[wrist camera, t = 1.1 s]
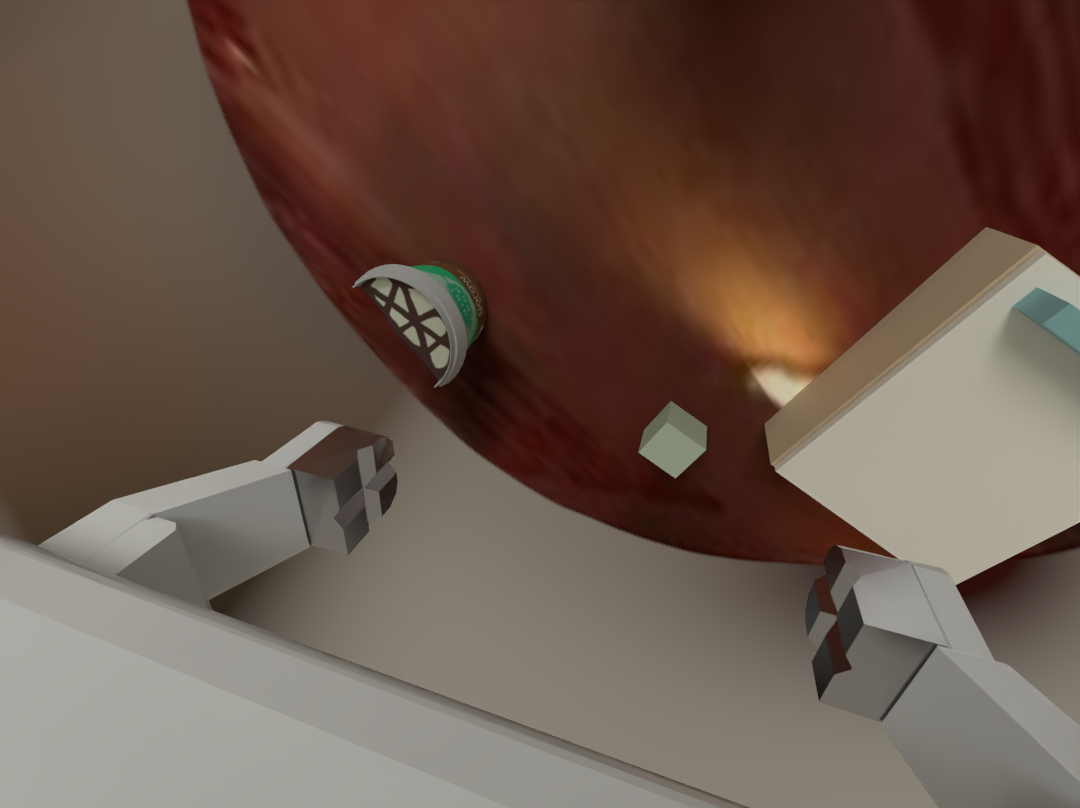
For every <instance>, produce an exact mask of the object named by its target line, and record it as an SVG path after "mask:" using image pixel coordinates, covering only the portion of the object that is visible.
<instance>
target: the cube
mask: <svg viewBox="0 0 1080 808" xmlns="http://www.w3.org/2000/svg"><path fill="white" fill-rule="evenodd" d="M706 440H707V426H705V425H704V424H703V423H701V422H700V421H698V420H697V419H696V418H694V417H693V416H691V415H690V414H689V413H687V412H686V411H684V410H683V409H682V408H680V407H679V406H677V405H676V404H674V403H673V402H672V401H671V402H670V403H669V404H668V405H667V406H666V407H665V408H664V409H663V410H662V411H661V412H660V413H659V414H658V415H657V416H656V418H655V419H654V420H653V421H652V422H651V423H650V424H649V425H648V426H647V427H646V428H645V429H644V432H643V436H642V440H641V444H640V448H639V453H640V454H641V455H643V456H644V457H646V458H647V459H648V460H650V461H651V462H653V463H654V464H656V465H657V466H658V467H660V468H661V469H663V470H664V471H665V472H667V473H668V474H670V475H671V476H673V477H674V478H677V477H678V476H679V475H680V474H681V473H682V472H683V471H684V470H685V469H686V468H687V467H688V466H689V465H691V464H692V463H693V462H694V461H695V460H696V459H697V458H698V457H699V456H700V455H701V454H702V453H703V452H705V451H706Z"/></svg>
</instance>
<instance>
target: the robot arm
mask: <svg viewBox="0 0 1080 808" xmlns="http://www.w3.org/2000/svg"><path fill="white" fill-rule="evenodd" d="M393 456H394V449H393V442H392V440H390V439H389V438H388V437H386V436H382V435H379V434H375V433H371V432H367V431H364V430H360V429H356V428H352V427H349V426H343V425H340V424H336V423H332V422H328V421H320V422H316V423H315V424H314V425H312V426H311V427H310V428H308V429H307V430H305V431H304V432H302V433H301V434H300V435H298V436H297V437H295V438H294V439H293V440H291V441H290V442H289V443H287V444H286V445H284V446H283V447H282V448H280V449H279V450H278V451H276V452H275V453H273V454H272V455H270V456H269V457H268V458H266V459H265V460H263V461H262V462H260V461H256V460H254V461H251V462H247V463H243V464H240V465H236V466H232V467H229V468H225V469H222V470H219V471H215V472H211V473H207V474H204V475H200V476H197V477H193V478H190V479H186V480H182V481H179V482H176V483H172V484H168V485H165V486H161V487H158V488H154V489H150V490H147V491H143V492H140V493H136V494H132V495H129V496H125V497H122V498H118V499H115V500H112V501H110V502H109V503H107V504H105V505H104V506H102V507H100V508H99V509H97V510H95V511H94V512H92V513H91V514H89V515H87V516H86V517H84V518H82V519H81V520H79V521H78V522H76V523H74V524H73V525H71V526H69V527H68V528H66V529H64V530H63V531H61V532H59V533H58V534H56V535H55V536H53V537H51V538H50V539H48V540H46V541H45V542H43V543H42V544H40V545H38V546H35V545H32V544H30V543H27V542H24V541H22V540H19V539H16V538H13V537H11V536H8V535H5V534H3V533H0V808H749V807H746V806H743V805H741V804H738V803H735V802H732V801H729V800H727V799H724V798H721V797H719V796H716V795H713V794H711V793H708V792H705V791H702V790H700V789H697V788H694V787H691V786H689V785H686V784H683V783H680V782H677V781H675V780H672V779H669V778H667V777H664V776H661V775H659V774H656V773H653V772H651V771H648V770H645V769H642V768H640V767H637V766H634V765H631V764H629V763H626V762H623V761H620V760H618V759H615V758H612V757H609V756H606V755H604V754H601V753H599V752H596V751H593V750H590V749H587V748H585V747H582V746H580V745H577V744H574V743H571V742H569V741H566V740H563V739H560V738H558V737H555V736H552V735H549V734H547V733H544V732H541V731H539V730H536V729H533V728H530V727H528V726H525V725H522V724H519V723H517V722H514V721H511V720H509V719H506V718H503V717H500V716H498V715H495V714H492V713H490V712H487V711H484V710H481V709H479V708H476V707H473V706H470V705H468V704H465V703H462V702H459V701H457V700H454V699H451V698H449V697H446V696H443V695H441V694H438V693H435V692H432V691H430V690H427V689H424V688H421V687H419V686H416V685H413V684H411V683H408V682H405V681H402V680H400V679H397V678H394V677H392V676H388V675H386V674H383V673H381V672H378V671H375V670H372V669H370V668H367V667H364V666H362V665H359V664H356V663H353V662H351V661H348V660H345V659H343V658H340V657H337V656H334V655H332V654H329V653H326V652H323V651H321V650H318V649H315V648H313V647H310V646H307V645H304V644H302V643H299V642H296V641H294V640H290V639H288V638H285V637H283V636H280V635H277V634H274V633H272V632H269V631H266V630H264V629H261V628H258V627H255V626H253V625H250V624H247V623H245V622H242V621H239V620H236V619H234V618H231V617H228V616H226V615H223V614H220V613H217V612H215V611H212V608H211V606H210V604H209V601H208V600H209V599H211V598H213V597H215V596H217V595H219V594H221V593H223V592H225V591H226V590H228V589H230V588H232V587H234V586H236V585H238V584H240V583H242V582H244V581H246V580H248V579H250V578H251V577H253V576H255V575H257V574H259V573H261V572H263V571H265V570H267V569H269V568H271V567H272V566H274V565H276V564H278V563H280V562H282V561H284V560H286V559H288V558H290V557H292V556H293V555H295V554H297V553H299V552H301V551H303V550H305V549H307V548H309V545H312V546H316V547H320V548H323V549H327V550H331V551H334V552H337V553H341V554H345V555H349V554H350V553H351V552H352V550H353V549H354V548H355V547H356V546H357V545H358V544H359V542H360V541H361V540H362V539H363V538H364V537H365V536H366V535H367V533H368V532H369V522H370V521H373V520H375V519H378V518H380V517H382V516H383V515H384V514H385V513H386V511H387V510H388V509H389V508H390V506H391V504H392V502H393V499H394V497H395V495H396V489H397V473H396V471H395V470H394V468H393V467H392V466H391V465H390V463H389V461H390V460H391V459H392V457H393ZM823 562H824V567H825V571H826V575H825V576H823V577H821V578H818V579H816V580H814V582H813V584H812V587H811V589H810V592H809V594H808V599H807V604H806V609H805V624H806V630H807V636H808V638H809V640H810V641H811V642H812V643H813V644H814V646H815V647H816V648H817V649H818V651H817V653H816V655H815V657H814V659H813V660H812V666H813V671H814V677H815V682H816V687H817V693H818V699H819V702H822V703H826V704H828V705H831V706H834V707H837V708H840V709H843V710H846V711H849V712H852V713H855V714H858V715H861V716H864V717H867V718H870V719H873V720H876V721H879V722H882V723H881V727H882V728H883V730H884V731H885V732H886V734H887V735H888V737H889V738H890V740H891V741H892V742H893V743H894V745H895V747H896V748H897V749H898V751H899V752H900V754H901V755H902V757H903V758H904V759H905V761H906V762H907V764H908V765H909V766H910V768H911V769H912V771H913V772H914V774H915V775H916V776H917V778H918V779H919V780H920V782H921V783H922V785H923V786H924V788H925V789H926V790H927V792H928V793H929V795H930V796H931V798H932V799H933V800H934V802H935V803H936V805H937V806H938V807H939V808H1080V726H1079V725H1078V724H1077V723H1076V722H1074V721H1073V720H1072V719H1071V718H1069V717H1068V716H1067V715H1066V714H1065V713H1064V712H1062V711H1061V710H1060V709H1059V708H1058V707H1057V706H1056V705H1054V704H1053V703H1052V702H1051V701H1050V700H1048V699H1047V698H1046V697H1045V696H1044V695H1043V694H1042V693H1040V692H1039V691H1038V690H1037V689H1036V688H1035V687H1033V686H1032V685H1031V684H1030V683H1029V682H1027V681H1026V680H1025V679H1024V678H1023V677H1022V676H1020V675H1019V674H1018V673H1017V672H1016V671H1015V670H1013V669H1012V668H1011V667H1010V666H1009V665H1007V664H1004V663H1000V662H997V661H995V660H994V658H993V656H992V654H991V652H990V651H989V649H988V647H987V645H986V643H985V641H984V639H983V637H982V635H981V633H980V631H979V630H978V628H977V626H976V624H975V622H974V620H973V618H972V616H971V614H970V612H969V611H968V609H967V607H966V605H965V603H964V601H963V599H962V597H961V595H960V594H959V592H958V590H957V588H956V586H955V584H954V582H953V580H952V578H951V576H950V575H949V573H947V572H946V571H945V570H944V569H943V568H940V567H935V566H930V565H926V564H921V563H917V562H912V561H907V560H904V561H903V560H899V559H895V558H890V557H886V556H882V555H878V554H873V553H869V552H865V551H861V550H856V549H852V548H848V547H844V546H839V545H834V546H833V547H832V548H831V549H830V550H829V551H828V553H827V555H826V557H825V559H824V561H823Z"/></svg>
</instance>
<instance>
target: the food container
mask: <svg viewBox="0 0 1080 808" xmlns="http://www.w3.org/2000/svg"><path fill="white" fill-rule="evenodd" d="M355 283H356V284H355V285H354V286H353V287H357V286H362V287H363V289H364V290H365V291H366V293H367V294H368V295H369V296H370V297H371V298H372V299H373V300H374V301H375V303H376V304H377V305H378V307H379V308H380V309H381V310H382V312H383V313H384V315H385V316H386V318H387V319H388V321H389V322H390V324H391V325H392V327H393V328H394V330H395V331H396V333H397V334H398V335H399V337H400V338H401V339H402V340H403V341H404V342H405V343H406V344H407V345H408V346H409V347H410V348H411V349H412V350H413V351H414V352H415V353H416V354H417V355H418V356H419V357H420V359H421V360H422V361H423V362H424V364H425V365H426V366H427V367H428V369H429V370H430V371H431V372H432V374H433V375H434V376H435V377H436V379H437V380H438V383H437V384H436V385H435V386H434V388H435V387H436V386H438V385H439V387H441V386H443V385H445V384H447V383H449V382H450V381H451V380H452V379H453V378H454V377H455V376H456V375H457V374H458V372H459V371H460V369H461V367H462V365H463V363H464V359H465V356H466V351H467V350H468V349H469V347H470V346H471V345H472V344H473V342H474V341H475V340H476V339H477V337H478V336H479V335H480V333H481V331H482V329H483V328H484V326H485V324H486V319H487V313H488V308H487V301H486V296H485V294H484V291H483V289H482V286H481V285H480V283H479V282H478V280H477V279H476V278H475V277H474V275H473V274H472V273H470V272H469V271H468V270H467V269H465V268H464V267H462V266H461V265H459V264H456V263H454V262H450V261H444V260H438V261H431V262H427V263H423V264H419V265H415V266H411V267H408V266H405V265H397V264H390V265H382V266H379V267H376V268H374V269H372V270H370V271H368V272H367V273H365V274H364V275H363V276H362V277H361V278H359V279H358V280H357V281H356V282H355Z"/></svg>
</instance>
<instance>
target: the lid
mask: <svg viewBox="0 0 1080 808" xmlns="http://www.w3.org/2000/svg"><path fill="white" fill-rule="evenodd" d="M775 471H776V472H777V473H778V474H780V475H781V476H783V477H784V478H786V479H787V480H788V481H790V482H791V483H793V484H794V485H795V486H797V487H798V488H800V489H801V490H802V491H804V492H805V493H807V494H808V495H809V496H811V497H812V498H814V499H815V500H816V501H818V502H819V503H821V504H822V505H824V506H825V507H826V508H828V509H829V510H831V511H832V512H833V513H835V514H836V515H838V516H839V517H840V518H842V519H843V520H845V521H846V522H847V523H849V524H850V525H852V526H853V527H854V528H856V529H857V530H859V531H860V532H861V533H863V534H864V535H866V536H867V537H869V538H870V539H871V540H873V541H874V542H876V543H877V544H878V545H880V546H881V547H883V548H884V549H885V550H887V551H888V552H890V553H891V554H892V555H894V556H895V557H897V558H898V559H899V560H903V561H904V560H907V561H912V562H917V563H921V564H926V565H930V566H935V567H940V568H943V569H944V570H945V571H946V572H947V573H949V575H950V576H951V578H952V580H953V582H954V584H955V585H956V584H958V583H960V582H962V581H964V580H966V579H968V578H970V577H972V576H974V575H976V574H978V573H980V572H982V571H984V570H986V569H988V568H990V567H992V566H994V565H996V564H998V563H1000V562H1002V561H1004V560H1006V559H1008V558H1010V557H1012V556H1014V555H1016V554H1018V553H1020V552H1022V551H1024V550H1026V549H1028V548H1030V547H1032V546H1034V545H1036V544H1038V543H1040V542H1042V541H1044V540H1046V539H1048V538H1049V537H1051V536H1053V535H1055V534H1057V533H1059V532H1061V531H1063V530H1065V529H1067V528H1069V527H1071V526H1073V525H1075V524H1077V523H1079V522H1080V278H1079V277H1078V276H1076V275H1075V274H1074V273H1072V272H1071V271H1070V270H1068V269H1067V268H1065V267H1064V266H1063V265H1061V264H1060V263H1059V262H1057V261H1056V260H1055V259H1053V258H1052V257H1050V256H1049V255H1048V254H1046V253H1044V252H1041V251H1039V252H1037V253H1036V254H1035V255H1034V256H1032V257H1031V258H1030V259H1029V260H1027V261H1026V262H1025V263H1024V264H1023V265H1021V266H1020V267H1019V268H1018V269H1016V270H1015V271H1014V272H1013V273H1011V274H1010V275H1009V276H1008V277H1007V278H1005V279H1004V280H1003V281H1002V282H1000V283H999V284H998V285H997V286H995V287H994V288H993V289H992V290H991V291H989V292H988V293H987V294H986V295H984V296H983V297H982V298H981V299H979V300H978V301H977V302H976V303H975V304H973V305H972V306H971V307H970V308H968V309H967V310H966V311H965V312H963V313H962V314H961V315H960V316H959V317H957V318H956V319H955V320H954V321H952V322H951V323H950V324H949V325H947V326H946V327H945V328H944V329H943V330H941V331H940V332H939V333H938V334H936V335H935V336H934V337H933V338H931V339H930V340H929V341H928V342H927V343H925V344H924V345H923V346H922V347H920V348H919V349H918V350H917V351H915V352H914V353H913V354H912V355H911V356H909V357H908V358H907V359H906V360H904V361H903V362H902V363H901V364H899V365H898V366H897V367H896V368H895V369H893V370H892V371H891V372H890V373H888V374H887V375H886V376H885V377H883V378H882V379H881V380H880V381H879V382H877V383H876V384H875V385H874V386H872V387H871V388H870V389H869V390H867V391H866V392H865V393H864V394H863V395H861V396H860V397H859V398H858V399H856V400H855V401H854V402H853V403H851V404H850V405H849V406H848V407H847V408H845V409H844V410H843V411H842V412H840V413H839V414H838V415H837V416H835V417H834V418H833V419H832V420H831V421H829V422H828V423H827V424H826V425H824V426H823V427H822V428H821V429H819V430H818V431H817V432H816V433H815V434H813V435H812V436H811V437H810V438H808V439H807V440H806V441H805V442H803V443H802V444H801V445H800V446H799V447H797V448H796V449H795V450H794V451H792V452H791V453H790V454H789V455H787V456H786V457H785V458H784V459H783V460H781V461H780V462H779V463H778V464H776V465H775Z"/></svg>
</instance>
